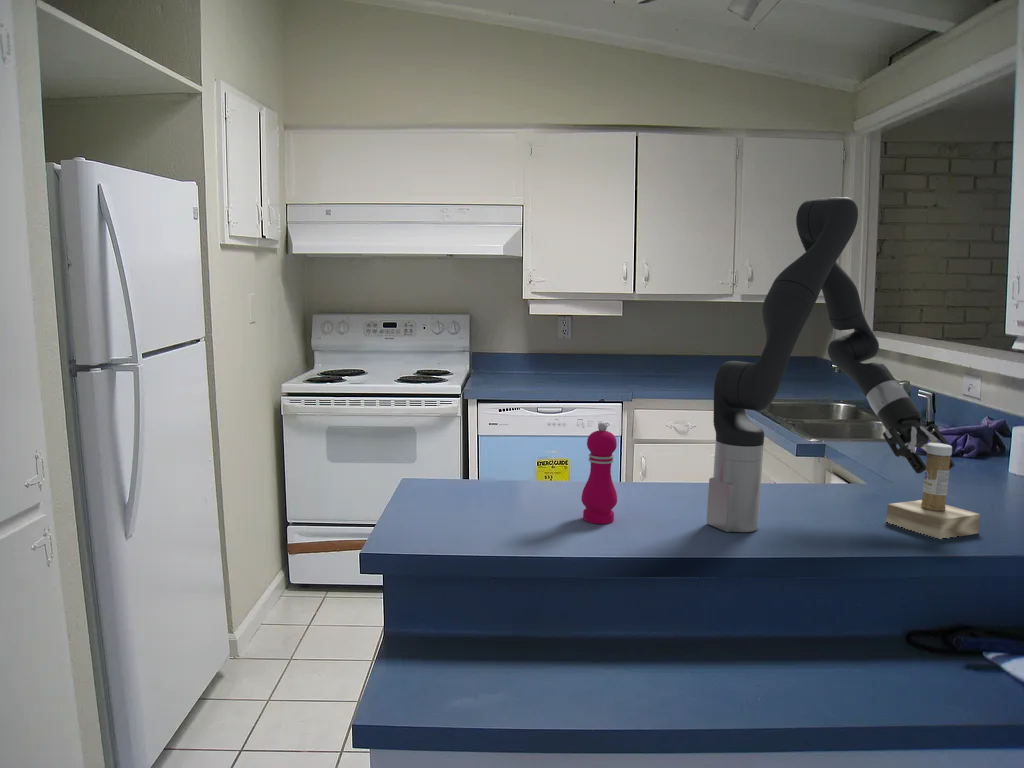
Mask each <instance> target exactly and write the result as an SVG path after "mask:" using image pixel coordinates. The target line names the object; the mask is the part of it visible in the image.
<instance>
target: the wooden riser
mask: <svg viewBox="0 0 1024 768" xmlns="http://www.w3.org/2000/svg"><path fill="white" fill-rule="evenodd" d="M921 503H922V499H918V500H908V501H902V502H895V503H894V502H893V503H892V502H891V503H887V506H886V520H885V521H886V522H888V523H887V524H889V523H890V524H889V525H892V524H894V525H893V526H895V525H897V526H896V527H898V526H899V528H901V527H903V528H902V529H904V528H905V529H904V530H907V529H908V531H910V530H912V531H911V532H913V531H915V532H914V533H917V532H918V533H917V534H920V533H921V535H923V534H925V535H924V536H926V535H928V536H927V537H929V536H932V537H935V538H938V539H940V540H943V539H942V538H947V539H951V538H950V537H953V538H957V536H959V537H964V536H970V535H971V536H972V535H977V534H979V531H980V530H979V529H980V522H981V513H978V512H974V511H970V510H966V509H963V508H959V507H956V506H952V505H949V504H945V507H946V509H945V510H943V511H934V510H928V509H925V508H923V507H921ZM886 522H885V523H886ZM932 537H931V538H932ZM935 538H934V539H935ZM938 539H937V540H938Z"/></svg>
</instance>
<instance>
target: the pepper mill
mask: <svg viewBox="0 0 1024 768" xmlns="http://www.w3.org/2000/svg"><path fill="white" fill-rule="evenodd" d="M597 428H598V430H596V431H595V430H594V431H593V432H591V433H590V434H589V436H588V437H587V440H586V446H587V449H588V450H589V452H590V453H589V454H588V456H589V458H588V461H589V463H590V471H589V475H588V479H587V481H586V483H585V485H584V487H583V489H582V493H581V498H580V499H581V503H582V505H583V506H584V507H585V509H583V511H582V513H583V514H582V519H583V521H584V522H586V523H589V524H595V525H608V524H611V523H613V522H614V521H615V511H613V509H614V508H615V507H616V505H617V504H618V495H617V491H616V488H615V485H614V482H613V480H612V479H613V478H612V474H611V473H612V472H611V471H612V470H611V468H612V463H614V457H615V456H614V455H613V453H614V452H615V451H616V449H617V447H618V444H617V443H618V441H617V438H616V436H615V435H614V434H613V433H612V432H611V431H608V430H607V428H608V425H607V424H606V423H604V422H601V423H599V424H598V426H597Z"/></svg>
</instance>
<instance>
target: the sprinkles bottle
mask: <svg viewBox="0 0 1024 768" xmlns="http://www.w3.org/2000/svg"><path fill="white" fill-rule="evenodd" d="M926 444H927V443H926ZM925 452H926V461H925V463H926V464H925V466H926V470H924V479H923V484H922V485H923V487H922V497H921V498H922V499H921V500H922V503H921V507H923V508H925V509H928V510H934V511H943V510H945V509H946V507H945V505H946V502H947V501H946V500H947V494H948V486H949V478H950V477H949V476H950V470H949V465H950V458H951V457H952V454H953V446H952V445H947V444H942V442H939V443H929V442H928V444H927V448H926V451H925Z"/></svg>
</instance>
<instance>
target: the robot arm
mask: <svg viewBox="0 0 1024 768" xmlns="http://www.w3.org/2000/svg"><path fill="white" fill-rule="evenodd" d="M858 219H859V209H858V206H857V203H856V202H855V201H854V199H852V198H851V197H848V196H846V197H845V196H835V197H824V198H822V197H821V198H813V199H809V200H805V201H803V203H801V204H800V206H799V207H798V210H797V211H796V218H795V222H796V223H795V224H796V230H797V233H798V236H799V238H800V239H799V240H800V242H801V244H802V247H803V249H804V251H805V252H804V253H802V255H801V256H799V257H798V258H797V259H795V260H794V261H793V262H791V264H789V265H788V266H787V267H785V268H784V269H783V270H782V271H781V272H780V273H779V274H778V275H777V276H776V278H775V279H774V280H773V282H772V284H771V286H770V288H769V290H768V292H767V294H766V296H765V299H764V301H763V303H762V309H761V315H762V321H763V326H764V331H765V336H766V337H765V338H766V340H765V345H764V348H763V350H762V353H761V354H760V356H759V357H758V360H757V361H756V362H746V361H739V360H738V361H737V360H730V361H729V360H728V361H725V362H723V363H722V364H721V365H720V366H719V368H718V370H717V372H716V374H715V377H714V381H713V382H714V383H713V384H714V385H713V422H712V423H713V427H714V431H715V448H714V459H713V460H714V463H713V474H712V476H713V477H710V478H709V479H708V492H707V493H708V495H707V506H706V507H707V508H706V524H707V525H709V526H711V527H714V528H716V529H718V530H721V531H723V532H726V533H729V532H734V533H750V532H755V531H756V530H758V529H759V515H760V501H761V488H762V486H761V485H762V473H763V461H764V460H763V459H764V448H765V447H764V446H765V445H764V443H765V432H764V430H763V428H761V427H760V426H759V425H757V424H755V422H753V421H752V420H751V419H750V418H749V417H748V415H747V414H746V410H748V411H756V412H758V411H764V410H766V409H767V408H769V406H770V405H771V404H772V402H773V401H774V399H775V398H776V395H777V393H778V392H779V388H780V386H781V383H782V380H783V378H784V374H785V372H786V368H787V366H788V364H789V360H790V358H791V355H792V353H793V350H794V348H795V346H796V343H797V341H798V340H799V339H798V338H799V337H800V335H801V333H802V330H803V328H804V326H805V325H806V323H807V320H808V319H809V317H810V315H811V313H812V310H813V308H814V307H815V304H816V302H817V300H818V297H819V295H820V294H821V293H820V292H822V294H823V298H824V303H825V309H826V312H827V316H828V321H829V323H830V325H831V327H832V328H833V329H834V330H837V331H849V330H853V332H850V333H848V334H845V335H842V336H840V337H837V338H835V339H833V340H831V341H830V342H829V344H828V347H827V353H828V357H829V359H830V361H831V363H833V365H834V366H836V368H838V369H839V370H840V371H842V373H843V374H845V375H846V376H848V378H850V379H851V380H852V381H853V382H854V383H855V384H856V385H857V386H858V387H859V389H860V390H861V392H862V394H863V395H864V396H865V399H866V400H867V402H868V404H869V406H870V408H871V409H872V411H873V412H874V413H875V415H876V416H877V419H879V422H880V423H881V424H882V425H883V427H884V429H885V431H884V432H883V433H882V436H883V438H884V439H885V441H886V443H887V445H888V446H889V448H890V449H891V451H892V453H893V454H894V455H895V457H897V458H899V457H902V458H903V459H905V460H907V462H908V463H909V465H910V467H911V468H912V469H913V470H914V471H915V473H916V474H922V473H923V472H925V470H926V464H925V462H924V461H923V460H922V458H921V457H920V456H919V454H918V453H917V452H916V448H920V449H922V450H923V451H925V452H926V448H927V444H928V443H941V444H947V445H950V443H949V441H947V439H946V438H945V437H944V435H943V434H942V432H941V431H940V430H939V429H938V428H937V426H936V425H935V424H933V423H931V424H929V426H925V425H924V424H923V423H922V422H921V417H922V413H921V412H920V410H919V408H918V407H917V406H916V405H915V403H914V401H913V400H912V399H911V398H910V396H909V395H908V393H907V391H906V390H905V389H904V387H902V385H900V384H899V383H898V382H897V380H896V378H895V377H894V376H893V374H892V372H891V371H890V370H889V368H888V367H887V366H886V365H885V364H884V363H882V362H880V361H879V362H869V363H867V362H866V361H869V360H870V359H872V358H875V356H876V355H877V354H878V352H879V350H880V349H879V347H880V343H879V340H878V338H877V337H876V335H875V334H874V332H873V330H872V329H871V327H870V326H869V324H868V322H867V319H866V318H865V316H864V315H865V314H864V313H863V308H862V307H863V306H862V304H861V303H862V302H861V299H860V293H859V290H858V288H857V285H856V284H855V282H854V280H853V279H852V278H851V277H850V276H849V274H848V273H847V272H846V271H845V270H844V269H843V267H842V266H841V265H840V264H839V263H838V262H837V261H838V260H839V257H840V256H841V254H842V253H843V251H844V249H845V248H846V247H847V245H848V243H849V241H850V239H851V238H852V236H853V235H854V232H855V230H856V227H857V223H858V221H859V220H858ZM864 362H866V363H864ZM939 441H940V442H939ZM897 445H898V446H899V448H898V447H897ZM950 446H951V445H950ZM953 468H955V463H954V461H953V460H952V458H951V457H950V465H949V471H951V469H953Z"/></svg>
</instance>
